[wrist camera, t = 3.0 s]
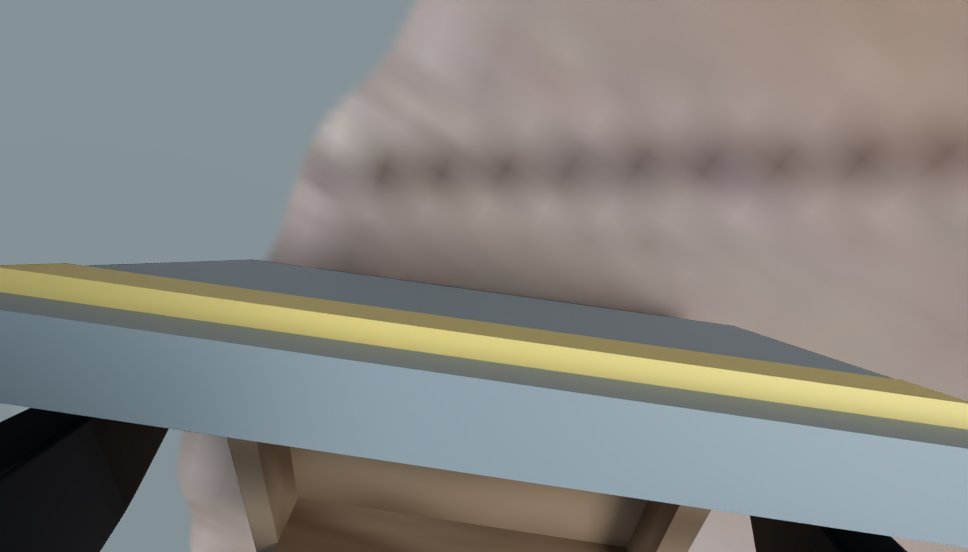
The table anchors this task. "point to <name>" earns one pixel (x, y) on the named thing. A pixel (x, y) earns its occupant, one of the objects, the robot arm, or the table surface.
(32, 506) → the robot arm
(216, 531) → the table surface
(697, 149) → the table surface
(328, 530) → the tray
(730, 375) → the panel
